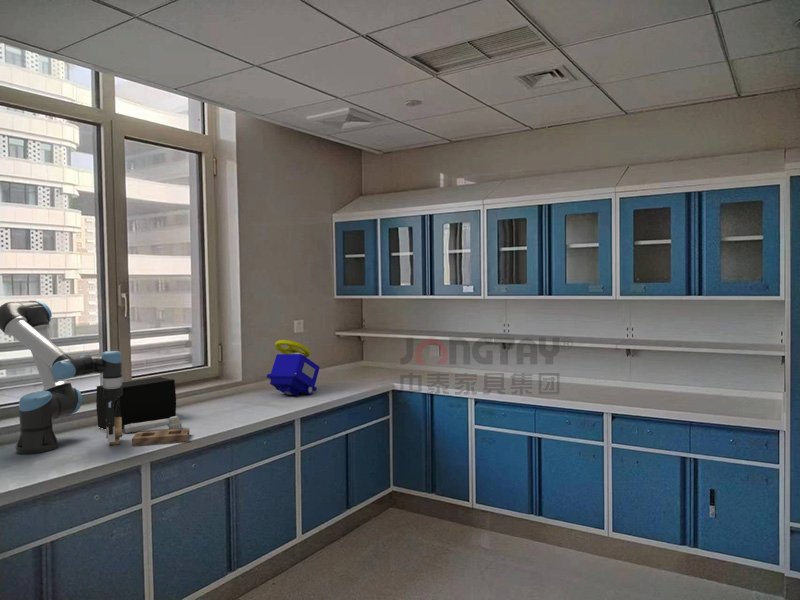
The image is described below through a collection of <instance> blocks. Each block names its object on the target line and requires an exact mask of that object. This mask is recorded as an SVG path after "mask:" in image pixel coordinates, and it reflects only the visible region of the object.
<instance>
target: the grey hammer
mask: <svg viewBox="0 0 800 600" xmlns="http://www.w3.org/2000/svg"><path fill="white" fill-rule="evenodd" d="M182 424H183V422H182V421H180V417H179V415H178V416H177V415H176V416H174V417H170V418H168V419H161V420H154V421H147V422H141V423H134V424H132V423H131V424H128V425H124V426H123V430H122V432H123V434H124V433H125V434H131V432H132V434H133V433H137V432H142V431H145V430H146V431H147V430H150V429H154V428H155V429H156V428H159V427H165V426H167V427H168V430H169V429H183V427H182V426H183V425H182Z"/></svg>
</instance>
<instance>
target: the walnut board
mask: <svg viewBox="0 0 800 600" xmlns="http://www.w3.org/2000/svg"><path fill="white" fill-rule="evenodd" d="M190 433H191V432H190V428H189V427H187V428H180V429H179V428H178V429H170V430H169V429H160V430H159V429H158V430H157V429H156V430H146V431H145V430H142V431H137V432H135V434H134V435H133V437H132V438H131V447H134V446H133V445H138V446H148V445H147V444H151V445H159V444H158V443H164V444H173V443H172V442H176V443H186V442H188V441H189V438H188V437H190V435H191V434H190ZM189 434H190V435H189ZM181 441H183V442H181ZM184 441H185V442H184Z"/></svg>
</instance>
